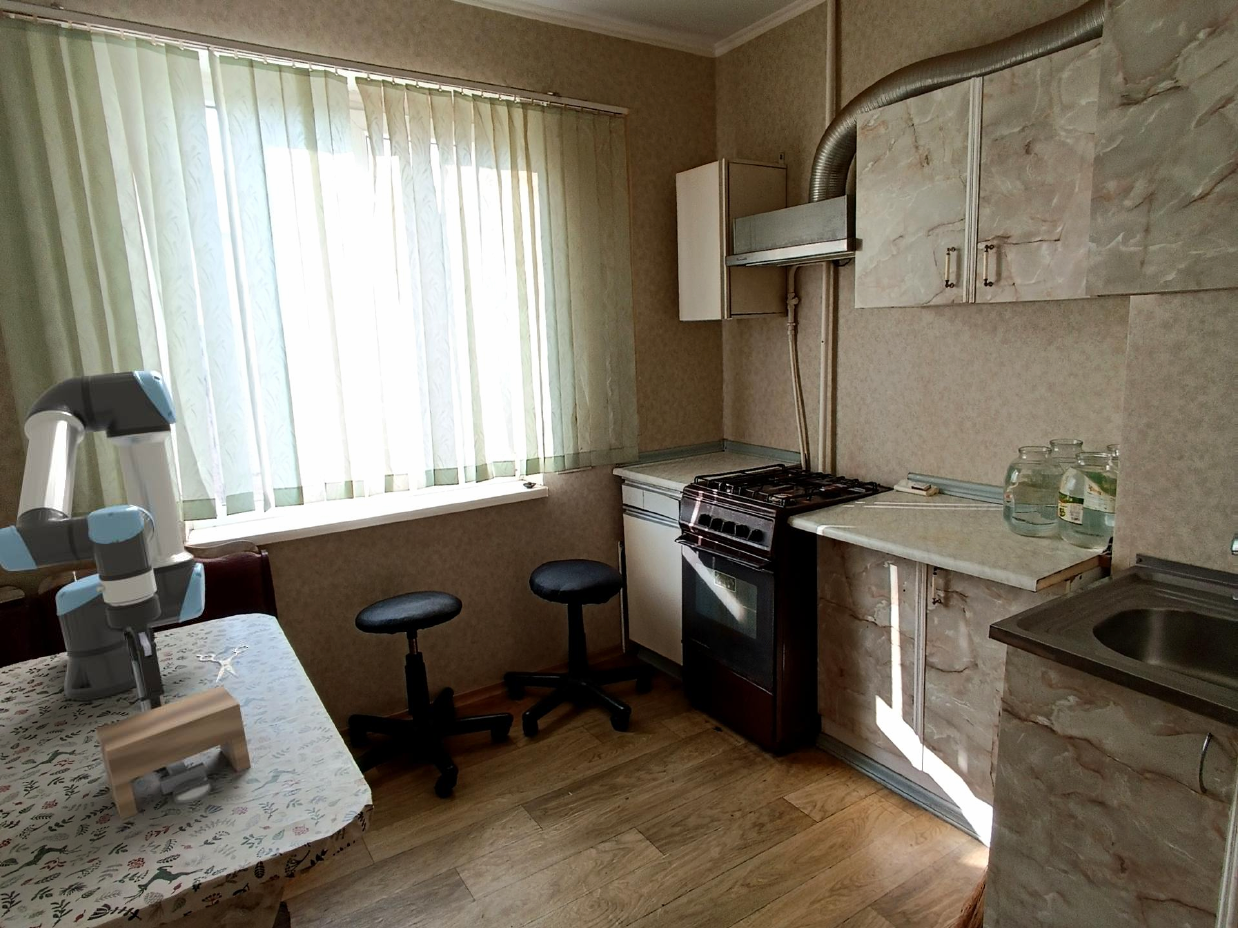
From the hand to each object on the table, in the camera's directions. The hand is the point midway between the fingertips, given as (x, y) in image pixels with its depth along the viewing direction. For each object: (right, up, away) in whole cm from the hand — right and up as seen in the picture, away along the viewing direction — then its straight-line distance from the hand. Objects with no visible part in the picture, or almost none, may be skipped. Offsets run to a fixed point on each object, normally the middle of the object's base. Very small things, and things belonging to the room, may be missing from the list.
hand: (157, 727), depth 131 cm
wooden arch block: (+10, -5, -10) cm, 14 cm away
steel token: (+14, -5, -14) cm, 20 cm away
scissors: (-7, +1, +36) cm, 36 cm away
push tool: (+6, -4, -5) cm, 9 cm away
